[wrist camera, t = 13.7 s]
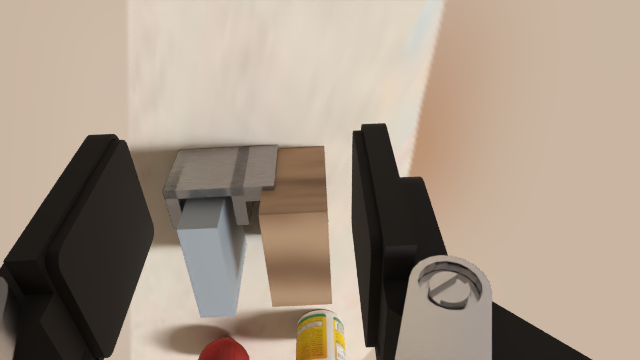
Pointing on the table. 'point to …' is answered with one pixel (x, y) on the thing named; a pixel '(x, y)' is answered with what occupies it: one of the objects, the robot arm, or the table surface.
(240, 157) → the gray wooden bench
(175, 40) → the table surface
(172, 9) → the table surface
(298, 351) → the supplement bottle
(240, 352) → the onion
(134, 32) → the table surface
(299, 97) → the table surface
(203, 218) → the pale blue tall prism
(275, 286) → the brown tall rectangular block
